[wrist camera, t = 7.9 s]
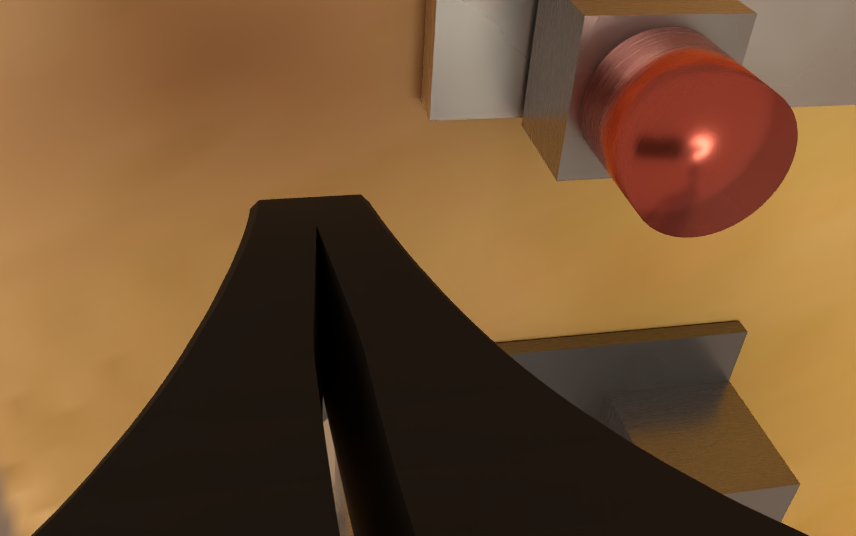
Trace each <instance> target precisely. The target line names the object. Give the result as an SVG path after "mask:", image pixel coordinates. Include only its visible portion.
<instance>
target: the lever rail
mask: <svg viewBox="0 0 856 536" xmlns="http://www.w3.org/2000/svg"><path fill="white" fill-rule="evenodd" d="M738 1H740V2H741V3H743V4H744V5H746V6H747V7H749V8H750V9H752V10H753V11H755V12H756V13H757V17H756V20H755V23H754V27H753V30H752V33H751V37H750V40H749V43H748V47H747V50H746V53H745V57H744V60H743V63H742V66H744V67H745V68H746V69H747V70H749V71H750V72H751V73H753V74H754V75H755V76H756V77H758V78H759V79H760V80H761V81H763V82H764V83H765V84H767V85H768V86H769V87H770V88H772V89H773V90H774V91H775V92H777V93H778V94H779V95H780V96H781V97H783V98H784V99H785V101H786V102H787V103H788V104H789V106H790V107H807V106H833V105H856V0H738ZM537 7H538V0H426V14H425V34H424V54H423V73H422V93H421V102H422V104H423V106H424V109H425V111H426V113H427V116H428V118H429V120H430V121H438V120H464V119H491V118H517V117H523V111H524V104H525V96H526V89H527V82H528V74H529V67H530V59H531V52H532V44H533V37H534V30H535V22H536V15H537Z"/></svg>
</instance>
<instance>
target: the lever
mask: <svg viewBox="0 0 856 536" xmlns="http://www.w3.org/2000/svg"><path fill="white" fill-rule="evenodd" d="M756 17H757V13H756V12H755V11H753V10H752V9H750V8H749V7H747V6H746V5H744V4H743V3H741V2H740V1H738V0H538V7H537V15H536V22H535V30H534V37H533V44H532V52H531V59H530V67H529V74H528V82H527V89H526V96H525V104H524V111H523V119H522V126H523V128H524V129H525V131H526V132H527V134H528V136H529V137H530V139H531V140H532V142H533V144H534V145H535V147H536V148H537V150H538V152H539V153H540V155H541V156H542V158H543V160H544V161H545V163H546V164H547V166H548V168H549V169H550V171H551V172H552V174H553V176H554V177H555V179H556V180H557V181H567V180H586V179H604V178H612V179H613V180H614V182H615V183H616V184H617V186H618V187H619V188H620V190H621V191H622V193H623V194H624V195H625V197H626V198H627V199H628V201H629V202H630V203H631V205H632V206H633V207H634V209H635V210H636V212H637V213H638V214H639V216H640V217H641V218H642V219H643V221H644V222H645V223H647V224H648V225H649V226H650V227H652V228H653V229H655V230H656V231H658V232H661V233H663V234H666V235H670V236H675V237H699V236H705V235H709V234H713V233H716V232H719V231H722V230H724V229H726V228H729V227H731V226H733V225H735V224H737V223H738V222H740V221H742V220H743V219H745V218H746V217H748V216H749V215H751V214H752V213H753V212H755V211H756V210H757V209H758V208H759V207H761V206H762V205H763V204H764V203H765V202H766V201H767V200H768V199H769V198H770V197H771V195H772V194H773V193H774V192H775V191H776V190H777V188H778V187H779V185H780V184H781V183H782V181H783V179H784V178H785V176H786V174H787V172H788V171H789V168H790V166H791V164H792V161H793V158H794V155H795V152H796V146H797V135H798V131H797V123H796V119H795V116H794V113H793V111H792V109H791V107H790V106H789V104H788V103H787V102H786V101H785V99H784V98H783V97H781V96H780V95H779V94H778V93H777V92H775V91H774V90H773V89H772V88H770V87H769V86H768V85H767V84H765V83H764V82H763V81H761V80H760V79H759V78H758V77H756V76H755V75H754V74H753V73H751V72H750V71H749V70H747V69H746V68H745V67H744V66H742V63H743V60H744V57H745V53H746V50H747V47H748V43H749V40H750V37H751V33H752V30H753V27H754V23H755V20H756Z"/></svg>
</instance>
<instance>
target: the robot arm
mask: <svg viewBox="0 0 856 536" xmlns="http://www.w3.org/2000/svg"><path fill="white" fill-rule="evenodd" d="M323 399H324V403H325V408H326V413H327V417H328V422H329V426H330V431H331V436H332V440H333V445H334V449H335V454H336V458H337V463H338V467H339V472H340V477H341V481H342V486H343V490H344V495H345V499H346V504H347V508H348V513H349V517H350V522H351V526H352V531H353V535H354V536H808V535H806V534H804V533H802V532H800V531H798V530H796V529H794V528H791V527H789V526H787V525H785V524H783V523H781V522H779V521H777V520H774V519H772V518H770V517H768V516H766V515H764V514H762V513H760V512H757V511H755V510H753V509H751V508H749V507H747V506H745V505H743V504H740V503H738V502H736V501H735V500H733V499H731V498H729V497H727V496H725V495H723V494H721V493H719V492H717V491H716V490H714V489H712V488H710V487H708V486H707V485H705V484H703V483H701V482H699V481H697V480H696V479H694V478H692V477H690V476H688V475H686V474H685V473H683V472H681V471H679V470H677V469H676V468H674V467H672V466H670V465H668V464H666V463H665V462H663V461H661V460H660V459H658V458H656V457H655V456H653V455H651V454H650V453H648V452H646V451H645V450H643V449H641V448H640V447H638V446H636V445H634V444H633V443H631V442H629V441H628V440H626V439H625V438H623V437H622V436H620V435H619V434H617V433H616V432H614V431H613V430H611V429H609V428H608V427H606V426H605V425H603V424H602V423H600V422H599V421H597V420H596V419H594V418H593V417H591V416H590V415H588V414H587V413H585V412H584V411H582V410H581V409H579V408H578V407H576V406H574V405H573V404H572V403H570V402H569V401H567V400H566V399H565V398H563V397H562V396H560V395H559V394H558V393H556V392H555V391H553V390H552V389H551V388H549V387H548V386H547V385H545V384H544V383H543V382H542V381H540V380H539V379H538V378H537V377H535V376H534V375H533V374H531V373H530V372H529V371H528V370H526V369H525V368H524V367H523V366H521V365H520V364H519V363H518V362H516V361H515V360H514V359H513V358H512V357H510V356H509V355H508V354H507V353H506V352H505V351H503V350H502V349H501V348H500V347H499V346H498V345H497V344H496V343H495V342H493V341H492V340H491V339H490V338H489V337H488V336H487V335H486V334H485V333H484V332H483V331H482V330H480V329H479V328H478V327H477V326H476V325H475V324H474V323H473V322H472V321H471V320H470V319H469V318H468V317H467V316H466V315H465V314H464V313H463V312H462V311H461V310H460V309H459V308H458V307H457V306H456V305H455V304H454V303H453V302H452V301H451V300H450V299H449V298H448V297H447V296H446V295H445V294H444V293H443V292H442V291H441V290H440V288H439V287H438V286H437V285H436V284H435V283H434V282H433V281H432V280H431V279H430V277H429V276H428V275H427V274H426V273H425V272H424V271H423V270H422V269H421V268H420V267H419V265H418V264H417V263H416V262H415V261H414V260H413V258H412V257H411V256H410V255H409V254H408V253H407V251H406V250H405V249H404V248H403V246H402V245H401V244H400V243H399V241H398V240H397V239H396V238H395V237H394V235H393V234H392V233H391V231H390V230H389V229H388V228H387V226H386V225H385V224H384V222H383V221H382V220H381V218H380V217H379V215H378V214H377V213H376V211H375V210H374V208H373V207H372V205H371V204H370V203H369V202H368V201H367V200H366V199H365V198H364V197H363V196H362V195H343V196H325V197H307V198H289V199H270V200H259V201H258V202H257V203H256V204H255V205H254V206H253V207H252V208H251V209H250V213H249V218H248V222H247V225H246V229H245V232H244V235H243V238H242V240H241V243H240V245H239V248H238V250H237V252H236V255H235V257H234V260H233V262H232V264H231V266H230V268H229V270H228V272H227V274H226V276H225V278H224V280H223V282H222V284H221V286H220V288H219V290H218V292H217V294H216V296H215V298H214V300H213V302H212V304H211V306H210V308H209V310H208V312H207V313H206V315H205V317H204V318H203V320H202V322H201V323H200V325H199V327H198V328H197V330H196V332H195V333H194V335H193V337H192V338H191V340H190V342H189V343H188V345H187V346H186V348H185V350H184V351H183V353H182V355H181V356H180V358H179V359H178V361H177V363H176V364H175V366H174V367H173V368H172V370H171V371H170V373H169V374H168V376H167V377H166V379H165V380H164V382H163V383H162V384H161V386H160V387H159V389H158V390H157V391H156V393H155V394H154V396H153V397H152V398H151V400H150V401H149V402H148V404H147V405H146V406H145V408H144V409H143V410H142V412H141V413H140V414H139V415H138V417H137V418H136V419H135V421H134V422H133V423H132V425H131V426H130V427H129V428H128V430H127V431H126V432H125V433H124V434H123V436H122V437H121V438H120V439H119V440H118V442H117V443H116V444H115V445H114V446H113V447H112V449H111V450H110V451H109V452H108V453H107V455H106V456H105V457H104V458H103V459H102V461H101V462H100V463H99V464H98V465H97V466H96V468H95V469H94V470H93V471H92V472H91V474H90V475H89V476H88V477H87V478H86V479H85V480H84V481H83V483H82V484H81V485H80V486H79V487H78V488H77V489H76V490H75V491H74V492H73V494H72V495H71V496H70V497H69V498H68V499H67V500H66V501H65V502H64V503H63V504H62V505H61V506H60V508H59V509H58V510H57V511H56V512H55V513H54V514H53V515H52V516H51V517H50V518H49V519H48V520H47V521H46V522H45V523H44V524H43V525H42V526H40V527H39V528H38V529H37V530H36V531H35V532H34V533H33V534H32V535H31V536H340V533H339V526H338V520H337V513H336V507H335V500H334V494H333V487H332V481H331V474H330V467H329V460H328V453H327V446H326V439H325V433H324V426H323Z"/></svg>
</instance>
